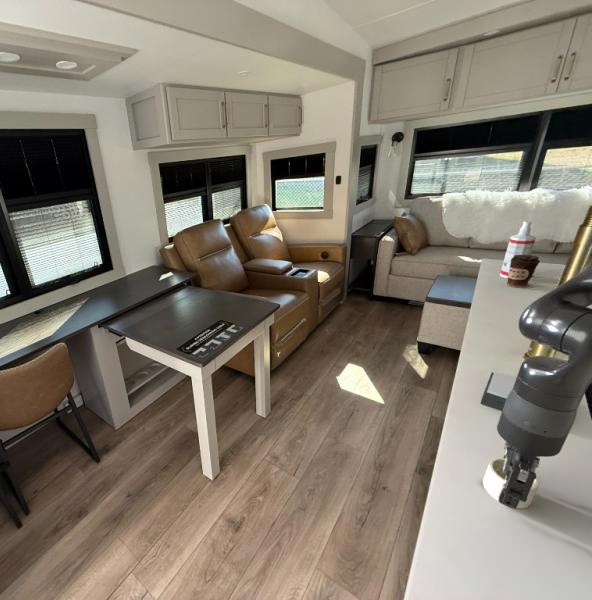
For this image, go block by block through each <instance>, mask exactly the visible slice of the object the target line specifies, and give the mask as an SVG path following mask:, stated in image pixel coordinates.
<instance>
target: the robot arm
mask: <svg viewBox="0 0 592 600" xmlns="http://www.w3.org/2000/svg"><path fill="white" fill-rule="evenodd" d="M590 306H592V261H591V262H589V264H588V265H587V266H586V267H585V268H584V269H583V270H582V271H580V272H578V273H577V274H576V275H574V276H572V277H571V278H569V279H568V280H566V281H564V282H563V283H562V284H560V285H559V286H556V287H555V288H554V289H552V290H550V291H548V292H546V293H545V294H544V295H542V296H540V297H538V298H537V299H536V300H534V301H533V302H532V303H530V304H529V305H528V306H526V308H525V309H524V310H523V312H522V313H521V315H520V317H519V319H518V330H519V332H520V334H521V335H522V336H523V337H524V338H526V339H528V340H529V341H531V342H534V343H536V344H538V345H541V346H544V347H546V348H548V349H551V350H553V351H556V352H558V353H561V354H562V355H563V354H564V355H565V356H568V358H567V360H565V359H561V358H557V357H553V356H546V355H533V356H529V357H527V358H525V359H524V360H523V361H522V363H521V364H520V367H519V370H518V372H517V375H516V381H515V383H514V386H513V388H512V390H511V392H510V393H509V395H508V397H507V399H506V402H505V405H504V408H503V411H501V414H500V416H499V419H498V422H497V425H496V431H497V433H498V435H499V436H500V437H501V438H502V439H503V440H504V445H503V449H504V453H503V457H502V458H505V462H504V466H503V472H504V473H505V475H506V476H505V480H504V483H503V484H502V486H503V488H502V490H501V493H500V495H499V503H500V504H502V505H504V506H506V507H508V508H511V509H513V510H515V509H517V508H516V507H517V505H518V503H519V501H522V502H525V501H527V496H528V494H529V492H530V489H531V487H532V485H533V482H534V480H535V479H536V476H537V473H536V470H537V468H539V465H540V463H541V462H540V461H541V458H543V457H544V458H545V457H546V458H549V457H554V456H557V455H559V454H560V453H561V451H562V448H563V447H564V444H565V443H566V440H567V438H568V436H569V434H570V431H571V430H572V427H573V426H574V423H575V421H576V418H577V413H578V409H579V406H580V404H581V402H582V400H583V398H584V396H585V394H586V392H587V389H588V388H589V386H590V385H591V384H592V308H591V307H590ZM540 457H541V458H540ZM509 466H511V471H510V470H509Z"/></svg>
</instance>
